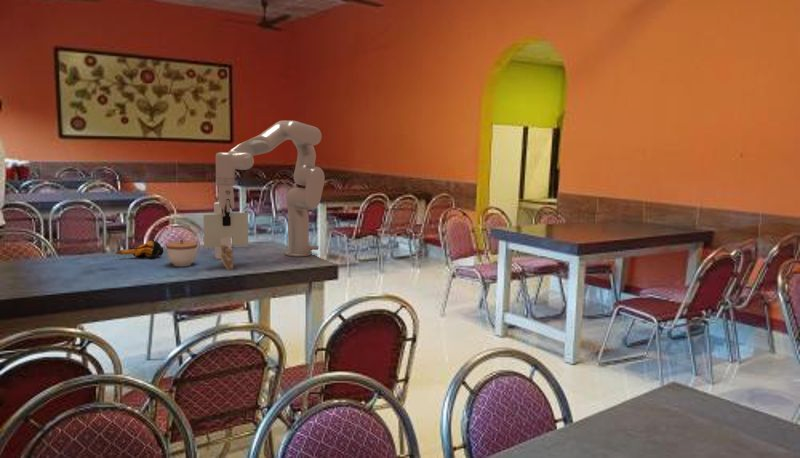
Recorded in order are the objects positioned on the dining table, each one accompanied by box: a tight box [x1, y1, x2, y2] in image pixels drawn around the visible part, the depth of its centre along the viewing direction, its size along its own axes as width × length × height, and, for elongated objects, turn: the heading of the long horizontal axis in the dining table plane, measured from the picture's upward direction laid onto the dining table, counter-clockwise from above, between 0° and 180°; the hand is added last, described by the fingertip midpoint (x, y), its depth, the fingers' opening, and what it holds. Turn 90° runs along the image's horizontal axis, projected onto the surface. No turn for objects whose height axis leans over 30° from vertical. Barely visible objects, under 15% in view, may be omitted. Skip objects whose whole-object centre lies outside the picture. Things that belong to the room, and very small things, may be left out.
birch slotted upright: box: [220, 245, 234, 271], centre depth 261 cm, size 2×15×8 cm, turn 27°
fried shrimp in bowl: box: [115, 238, 164, 260], centre depth 273 cm, size 9×11×18 cm
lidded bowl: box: [165, 238, 198, 267], centre depth 262 cm, size 13×13×11 cm
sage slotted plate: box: [202, 212, 249, 249], centre depth 260 cm, size 18×2×14 cm, turn 116°
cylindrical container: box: [213, 201, 232, 260], centre depth 278 cm, size 7×7×25 cm
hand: (226, 225), depth 259 cm, fingers closed on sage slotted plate, 2 cm apart
